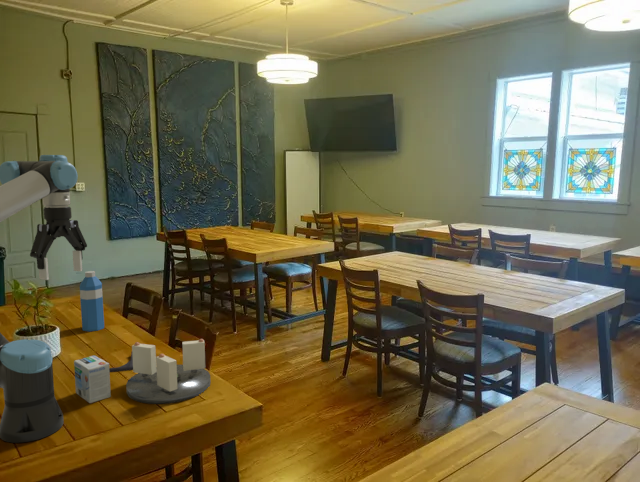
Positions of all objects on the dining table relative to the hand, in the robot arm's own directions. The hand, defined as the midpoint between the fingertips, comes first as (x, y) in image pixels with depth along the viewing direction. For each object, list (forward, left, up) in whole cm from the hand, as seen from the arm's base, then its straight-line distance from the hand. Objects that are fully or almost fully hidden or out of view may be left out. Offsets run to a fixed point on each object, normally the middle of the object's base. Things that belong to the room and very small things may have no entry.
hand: (61, 275), depth 160 cm
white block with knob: (+9, -33, -34) cm, 48 cm away
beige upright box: (+24, -30, -34) cm, 52 cm away
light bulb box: (0, -11, -37) cm, 39 cm away
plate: (+16, -27, -37) cm, 48 cm away
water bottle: (+46, +45, -37) cm, 74 cm away
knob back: (+14, -18, -34) cm, 41 cm away
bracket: (+25, -1, -38) cm, 45 cm away
